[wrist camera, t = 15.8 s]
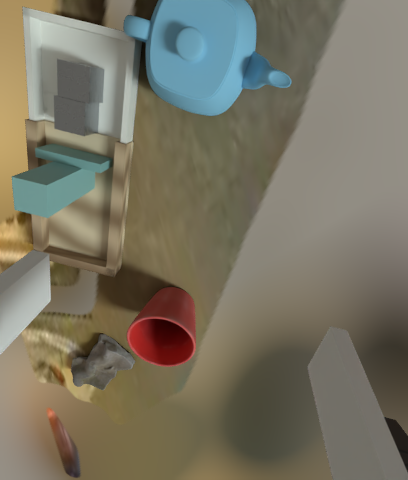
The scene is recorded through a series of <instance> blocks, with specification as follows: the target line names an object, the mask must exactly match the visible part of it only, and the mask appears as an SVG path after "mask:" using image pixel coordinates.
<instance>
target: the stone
mask: <svg viewBox="0 0 408 480" xmlns="http://www.w3.org/2000/svg"><path fill="white" fill-rule="evenodd" d="M134 363H135V361H134V359H133V357H132V356H131V354H130V353H127V351H126V350H125V349H123V348H122V347H121V346H120V345H119V344H118V343H117V342H116V341H115V340H114V339H112V338H111V337H109V336H107V335H105V334H100V336H99V339H98V343H97V344H95V346H94V347H93V349H92V351H91V353H90V355H89V356H88V357H77V358H73V362H72V368H71V372H72V375H73V383H74V385H76V386H78V387H80V386H82V385H83V384H90V385H93V386H94V387H97V388H99V389H101V390H104V389H105V387H106V386H107V384H108V383H109V382H110V380H111V379H113V378H114V377H115V376H116V373H117V371H119V370H128V369H132V367H133V364H134Z"/></svg>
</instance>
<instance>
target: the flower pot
mask: <svg viewBox="0 0 408 480" xmlns="http://www.w3.org/2000/svg"><path fill="white" fill-rule="evenodd" d="M127 341H128V344H129V346H130V348H131V349H132V350H133V352H134V353H135V354H136V355H137V356H139V357H140V358H141V359H143V360H145V361H147V362H149V363H152V364H155V365H158V366H177V365H180V364H183V363H185V362H187V361H188V360H189V359H191V357H192V356H193V355H194V352H195V349H196V330H195V306H194V301H193V299H192V297H191V296H190V295H189V294H188V293H187V292H186V291H184V290H182V289H179V288H176V287H166V288H163V289H160V290H159V291H158V292H157V293H156V294H155V295H154V296H153V297H152V298H151V300H150V301H149V302H148V303H147V304H146V305H145V307H144V308H143V309H142V310H141V312H140V313H139V314H138V316H137V317H136V318H135V320H134V321H133V322H132V324H131V325H130V327H129V329H128V331H127Z"/></svg>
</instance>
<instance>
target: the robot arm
mask: <svg viewBox="0 0 408 480" xmlns="http://www.w3.org/2000/svg"><path fill="white" fill-rule="evenodd" d="M50 301H51V292H50V262H49V254H47V253H43V252H39V251H35V250H32V251H31V252H30V253H28V254H27V255H26V256H24V257H23V258H21V259H20V260H19V261H17V262H16V263H15V264H13V265H12V266H11V267H9V268H8V269H7V270H5V271H4V272H3V273H1V274H0V354H1V353H2V352H3V351H4V350H5V349H6V348H7V347H8V346H9V345H10V344H11V343H12V341H13V340H14V339H15V338H16V337H17V336H18V335H19V334H20V333H21V332H22V331H23V330H24V329H25V328H26V327H27V326H28V324H29V323H30V322H31V321H32V320H33V319H34V318H35V317H36V316H37V315H38V314H39V313H40V312H41V311H42V309H43V308H44V307H45V306H46V305H47V304H48V303H49V302H50ZM307 368H308V371H309V376H310V381H311V385H312V389H313V394H314V399H315V403H316V407H317V412H318V416H319V421H320V425H321V429H322V434H323V438H324V443H325V447H326V452H327V456H328V461H329V464H330V469H331V474H332V478H333V480H408V436H407V434H406V433H405V432H404V430H403V429H402V428H401V426H400V425H399V424H398V423H397V421H396V420H393V419H389V418H386V417H384V416H383V414H382V411H381V409H380V407H379V405H378V402H377V400H376V397H375V395H374V393H373V391H372V388H371V386H370V383H369V381H368V379H367V376H366V374H365V372H364V369H363V367H362V365H361V362H360V360H359V358H358V356H357V353H356V351H355V348H354V346H353V344H352V341H351V339H350V336H349V334H348V332H347V331H346V330H343V329H338V328H335V327H330V328H329V330H328V332H327V333H326V335H325V337H324V339H323V340H322V342H321V344H320V346H319V347H318V349H317V351H316V353H315V355H314V356H313V358H312V360H311V362H310V363H309V365H308V367H307Z"/></svg>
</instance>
